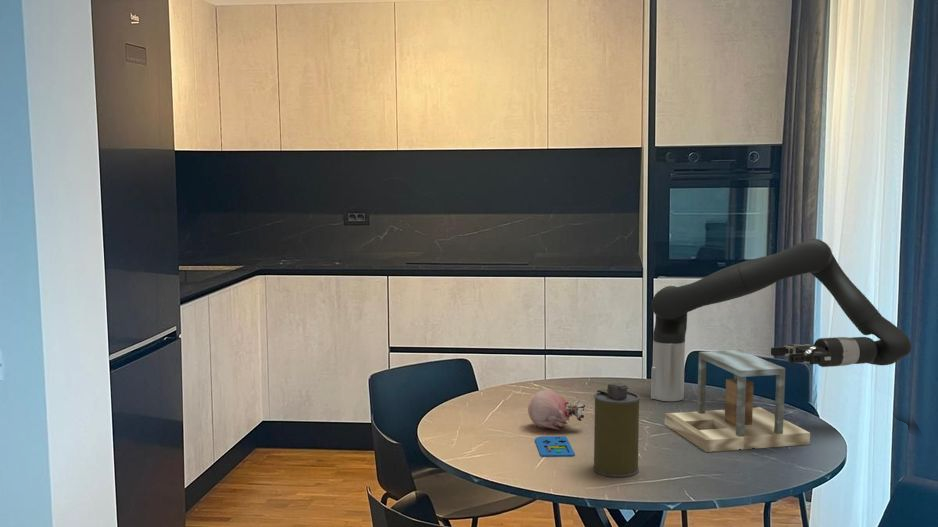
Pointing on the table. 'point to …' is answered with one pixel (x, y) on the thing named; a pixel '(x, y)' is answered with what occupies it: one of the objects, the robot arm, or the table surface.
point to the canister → (616, 431)
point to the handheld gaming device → (554, 446)
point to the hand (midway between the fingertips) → (780, 355)
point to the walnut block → (732, 401)
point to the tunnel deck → (737, 410)
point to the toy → (552, 410)
